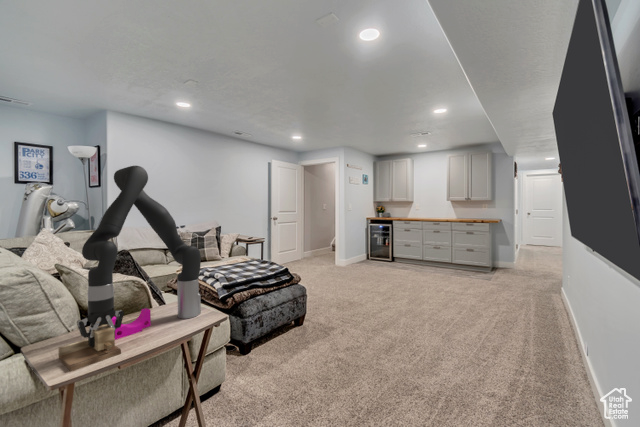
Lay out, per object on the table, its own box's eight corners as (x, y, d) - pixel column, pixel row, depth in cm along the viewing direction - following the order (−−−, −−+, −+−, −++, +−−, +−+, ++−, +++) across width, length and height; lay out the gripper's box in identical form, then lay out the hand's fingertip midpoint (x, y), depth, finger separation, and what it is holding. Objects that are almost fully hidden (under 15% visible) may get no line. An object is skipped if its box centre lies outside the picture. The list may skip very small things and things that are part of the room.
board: (106, 343, 112) (106, 333, 112) (121, 353, 105) (120, 342, 104) (58, 359, 101) (58, 347, 101) (70, 371, 93) (70, 358, 93)
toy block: (113, 340, 115) (113, 321, 115) (107, 336, 119) (106, 318, 119) (153, 328, 128) (153, 310, 128) (146, 324, 131) (146, 308, 131)
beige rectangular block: (105, 340, 110) (105, 324, 110) (118, 347, 104) (117, 330, 104) (89, 345, 106) (89, 328, 106) (101, 353, 100) (100, 336, 100)
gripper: (119, 290, 114) (120, 334, 114) (72, 300, 102) (73, 349, 102) (127, 293, 109) (128, 339, 109) (79, 304, 98) (80, 355, 98)
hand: (102, 343), depth 106 cm, fingers closed on beige rectangular block, 5 cm apart
